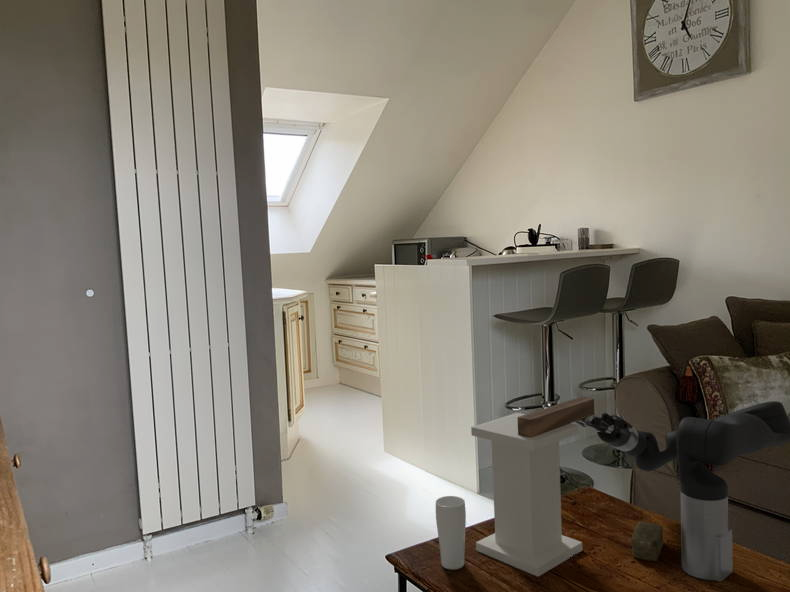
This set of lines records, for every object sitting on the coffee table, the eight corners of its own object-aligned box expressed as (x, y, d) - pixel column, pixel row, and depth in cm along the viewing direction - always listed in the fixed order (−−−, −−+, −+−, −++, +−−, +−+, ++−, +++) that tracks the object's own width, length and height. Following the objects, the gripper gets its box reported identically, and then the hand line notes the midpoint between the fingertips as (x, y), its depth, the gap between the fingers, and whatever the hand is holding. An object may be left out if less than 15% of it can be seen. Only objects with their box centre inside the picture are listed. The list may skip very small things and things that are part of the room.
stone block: (630, 559, 149) (630, 538, 148) (638, 539, 159) (637, 519, 158) (658, 564, 146) (657, 542, 146) (663, 543, 156) (663, 522, 156)
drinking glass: (472, 561, 151) (469, 498, 150) (460, 575, 145) (457, 509, 144) (446, 555, 154) (443, 493, 153) (432, 568, 148) (430, 504, 147)
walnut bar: (594, 414, 160) (594, 398, 159) (530, 437, 143) (530, 419, 143) (581, 412, 162) (581, 396, 162) (518, 434, 146) (517, 417, 146)
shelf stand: (582, 550, 154) (578, 425, 151) (537, 576, 143) (533, 441, 140) (521, 527, 167) (517, 412, 165) (476, 550, 156) (471, 427, 154)
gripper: (640, 452, 165) (609, 433, 156) (590, 442, 176) (558, 423, 166) (647, 424, 167) (617, 403, 158) (597, 415, 178) (566, 395, 168)
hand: (587, 413), depth 162 cm, fingers open, 8 cm apart
